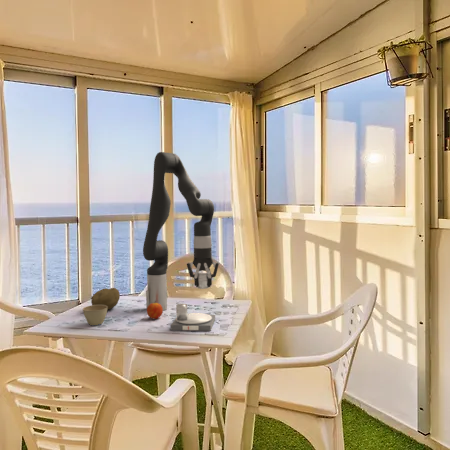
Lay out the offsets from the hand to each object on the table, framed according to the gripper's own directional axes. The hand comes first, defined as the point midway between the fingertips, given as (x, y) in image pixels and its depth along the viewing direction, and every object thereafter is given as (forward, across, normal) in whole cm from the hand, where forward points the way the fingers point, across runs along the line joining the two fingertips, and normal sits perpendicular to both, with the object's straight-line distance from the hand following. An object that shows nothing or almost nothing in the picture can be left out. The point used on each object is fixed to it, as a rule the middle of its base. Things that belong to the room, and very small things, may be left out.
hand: (203, 286), depth 173 cm
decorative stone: (+15, -51, +21) cm, 57 cm away
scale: (+16, -4, -3) cm, 16 cm away
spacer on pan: (+13, -8, -5) cm, 16 cm away
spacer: (0, 0, 0) cm, 0 cm away
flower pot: (+16, -46, -3) cm, 49 cm away
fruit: (+16, -23, +6) cm, 28 cm away
